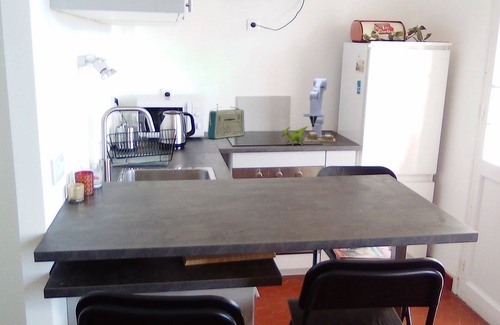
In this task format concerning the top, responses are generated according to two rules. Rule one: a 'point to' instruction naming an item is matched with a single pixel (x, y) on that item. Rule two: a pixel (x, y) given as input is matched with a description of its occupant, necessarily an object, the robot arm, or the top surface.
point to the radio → (226, 123)
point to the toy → (295, 135)
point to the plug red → (312, 133)
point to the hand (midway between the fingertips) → (312, 126)
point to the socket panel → (316, 139)
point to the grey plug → (327, 134)
